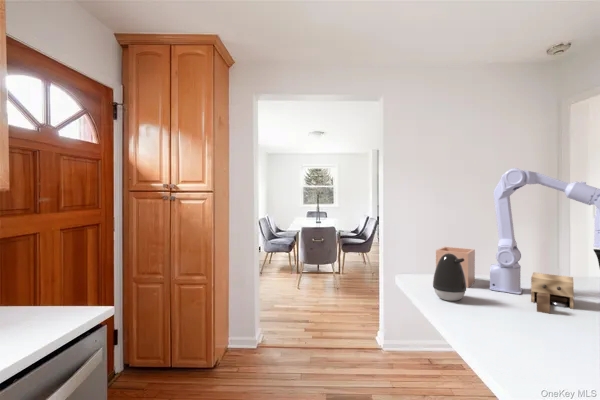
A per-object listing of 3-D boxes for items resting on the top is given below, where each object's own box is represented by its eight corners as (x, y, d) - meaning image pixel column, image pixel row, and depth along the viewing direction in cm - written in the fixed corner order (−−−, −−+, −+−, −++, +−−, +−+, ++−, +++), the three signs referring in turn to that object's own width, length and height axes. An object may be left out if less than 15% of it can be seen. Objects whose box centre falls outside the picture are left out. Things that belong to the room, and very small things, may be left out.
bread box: (530, 302, 106) (531, 277, 106) (533, 295, 113) (533, 272, 113) (573, 309, 99) (573, 283, 99) (572, 301, 107) (572, 277, 107)
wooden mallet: (536, 311, 98) (536, 294, 98) (539, 298, 110) (540, 283, 110) (567, 316, 93) (567, 299, 93) (566, 302, 106) (567, 287, 105)
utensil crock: (435, 282, 130) (436, 250, 130) (444, 277, 139) (444, 246, 139) (468, 288, 123) (468, 253, 123) (474, 281, 132) (474, 249, 132)
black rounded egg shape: (452, 305, 103) (453, 257, 103) (426, 296, 112) (426, 252, 112) (473, 300, 107) (474, 254, 107) (446, 292, 117) (446, 250, 117)
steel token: (550, 306, 103) (550, 302, 103) (551, 303, 106) (551, 299, 106) (567, 309, 101) (567, 305, 101) (567, 305, 104) (567, 301, 104)
